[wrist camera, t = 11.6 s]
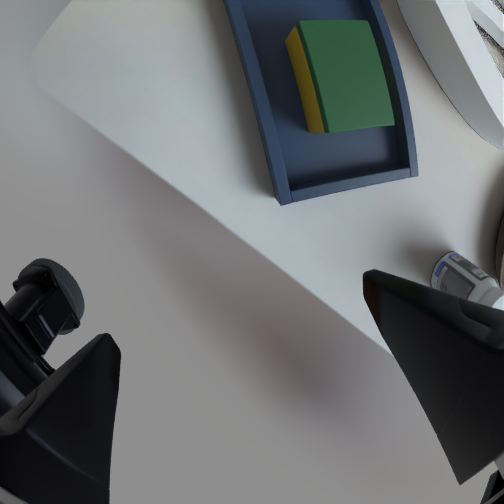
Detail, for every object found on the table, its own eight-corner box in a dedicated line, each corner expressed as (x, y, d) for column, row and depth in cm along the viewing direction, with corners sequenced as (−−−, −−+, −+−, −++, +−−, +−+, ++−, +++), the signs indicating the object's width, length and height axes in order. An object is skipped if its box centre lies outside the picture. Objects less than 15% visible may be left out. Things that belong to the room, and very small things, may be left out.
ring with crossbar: (552, 113, 16) (574, 118, 11) (472, 191, 20) (505, 205, 16) (470, -55, 5) (489, -62, 1) (328, -64, 10) (346, -90, 5)
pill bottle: (435, 298, 25) (480, 345, 17) (425, 271, 23) (477, 319, 16) (463, 271, 24) (511, 311, 16) (455, 242, 22) (511, 280, 15)
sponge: (308, 133, 17) (328, 133, 14) (284, 40, 14) (298, 20, 11) (366, 124, 17) (395, 125, 14) (343, 37, 14) (368, 20, 11)
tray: (275, 199, 19) (280, 205, 18) (207, -48, 11) (206, -60, 9) (405, 171, 19) (418, 176, 17) (338, -53, 10) (346, -63, 9)
